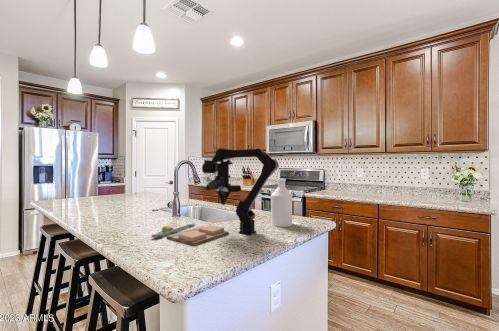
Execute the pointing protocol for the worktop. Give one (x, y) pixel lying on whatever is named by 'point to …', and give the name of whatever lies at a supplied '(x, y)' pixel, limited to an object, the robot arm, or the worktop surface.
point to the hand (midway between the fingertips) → (223, 204)
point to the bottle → (281, 206)
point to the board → (207, 238)
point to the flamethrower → (170, 230)
